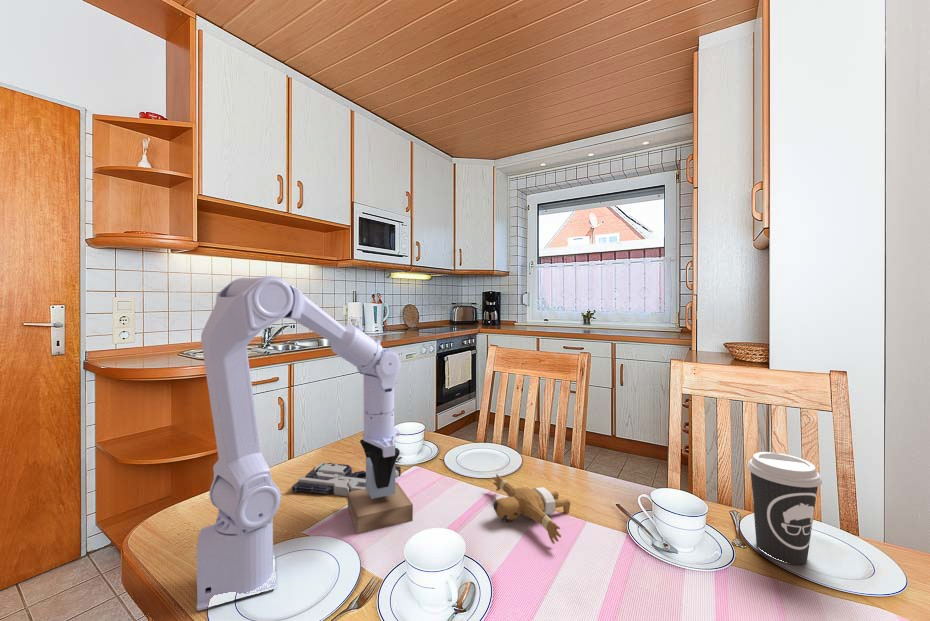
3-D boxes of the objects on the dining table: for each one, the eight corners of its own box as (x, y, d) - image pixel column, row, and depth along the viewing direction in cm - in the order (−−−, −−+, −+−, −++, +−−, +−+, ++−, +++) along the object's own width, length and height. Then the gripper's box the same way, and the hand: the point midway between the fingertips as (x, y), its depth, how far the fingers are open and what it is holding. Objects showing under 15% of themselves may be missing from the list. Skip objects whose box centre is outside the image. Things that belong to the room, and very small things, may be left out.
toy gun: (404, 474, 96) (379, 506, 81) (327, 465, 100) (291, 495, 85) (404, 462, 96) (379, 493, 81) (328, 454, 99) (291, 482, 85)
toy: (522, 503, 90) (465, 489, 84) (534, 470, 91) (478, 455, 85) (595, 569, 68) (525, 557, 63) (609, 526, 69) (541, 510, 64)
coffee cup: (820, 550, 66) (822, 460, 66) (819, 581, 59) (822, 479, 59) (749, 528, 72) (751, 445, 72) (741, 553, 65) (743, 461, 65)
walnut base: (357, 533, 70) (357, 516, 70) (347, 507, 79) (347, 492, 79) (412, 520, 75) (412, 504, 75) (397, 496, 84) (397, 482, 84)
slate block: (371, 498, 74) (371, 466, 74) (365, 488, 78) (366, 457, 78) (395, 493, 76) (395, 462, 76) (388, 484, 80) (388, 454, 80)
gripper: (411, 417, 72) (411, 493, 72) (389, 399, 85) (389, 463, 85) (371, 423, 69) (372, 501, 69) (355, 403, 82) (355, 469, 82)
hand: (379, 481), depth 77 cm, fingers closed on slate block, 4 cm apart
